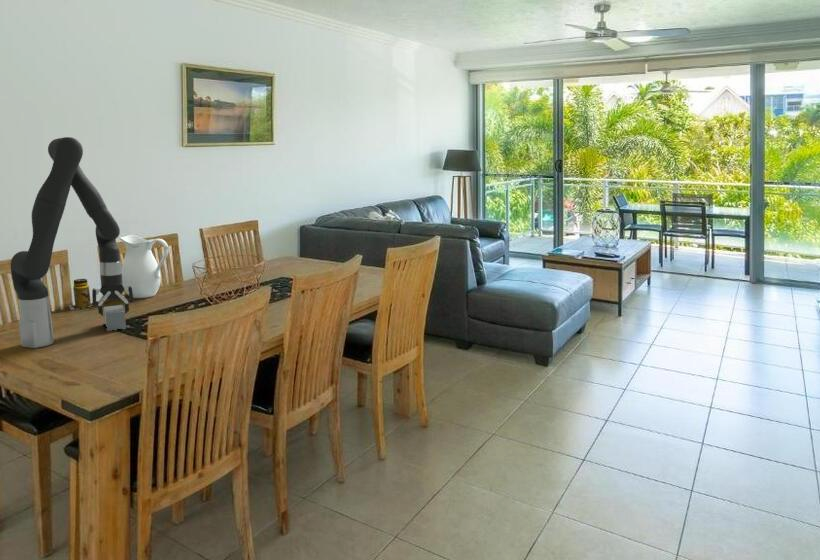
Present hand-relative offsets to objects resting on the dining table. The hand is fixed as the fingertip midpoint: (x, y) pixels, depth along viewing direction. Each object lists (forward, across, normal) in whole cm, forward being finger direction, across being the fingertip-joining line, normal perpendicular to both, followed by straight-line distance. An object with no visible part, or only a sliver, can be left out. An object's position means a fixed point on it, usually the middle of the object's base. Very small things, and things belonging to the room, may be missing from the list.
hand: (114, 313), depth 241 cm
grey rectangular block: (+5, 0, +1) cm, 5 cm away
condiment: (+5, -12, +39) cm, 41 cm away
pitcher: (+5, +17, +46) cm, 49 cm away
